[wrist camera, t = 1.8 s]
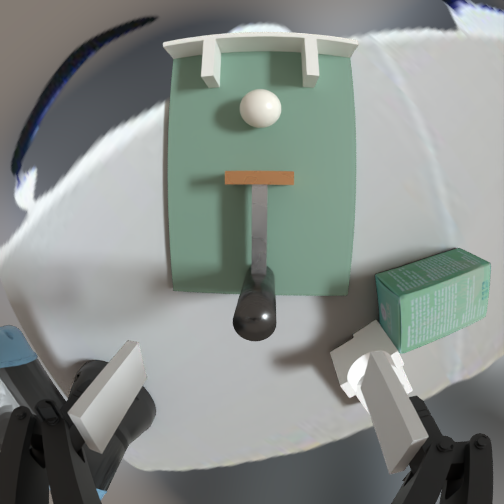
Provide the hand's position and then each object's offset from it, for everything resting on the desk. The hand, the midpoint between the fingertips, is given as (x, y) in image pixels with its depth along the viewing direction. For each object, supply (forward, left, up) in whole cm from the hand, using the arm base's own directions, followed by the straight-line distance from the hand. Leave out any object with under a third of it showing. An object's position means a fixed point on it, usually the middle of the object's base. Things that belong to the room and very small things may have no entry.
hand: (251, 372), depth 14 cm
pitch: (0, +12, -17) cm, 21 cm away
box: (+20, -1, -17) cm, 27 cm away
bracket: (+15, -13, -18) cm, 27 cm away
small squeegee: (0, +5, -16) cm, 17 cm away
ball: (0, +17, -14) cm, 23 cm away
